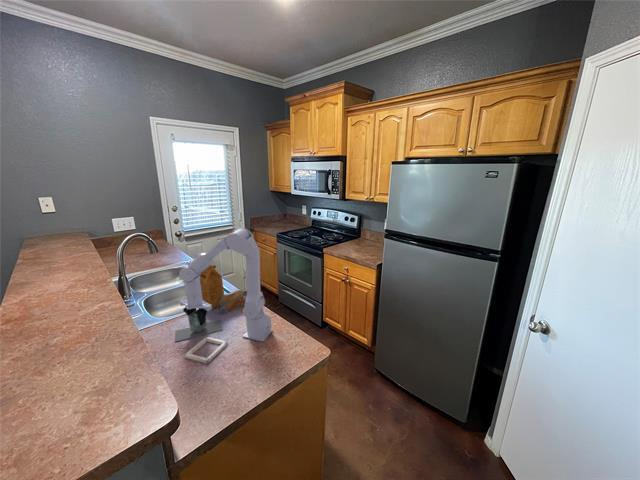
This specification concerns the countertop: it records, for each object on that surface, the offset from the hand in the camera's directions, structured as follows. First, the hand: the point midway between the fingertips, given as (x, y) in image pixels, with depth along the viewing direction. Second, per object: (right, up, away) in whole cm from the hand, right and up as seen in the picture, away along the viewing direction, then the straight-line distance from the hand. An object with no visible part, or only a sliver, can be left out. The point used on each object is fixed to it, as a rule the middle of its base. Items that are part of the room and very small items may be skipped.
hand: (198, 322), depth 109 cm
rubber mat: (0, -4, +1) cm, 4 cm away
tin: (+8, +1, +19) cm, 21 cm away
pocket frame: (+8, -7, -11) cm, 15 cm away
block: (0, -2, +1) cm, 3 cm away
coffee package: (-4, +2, +24) cm, 24 cm away
